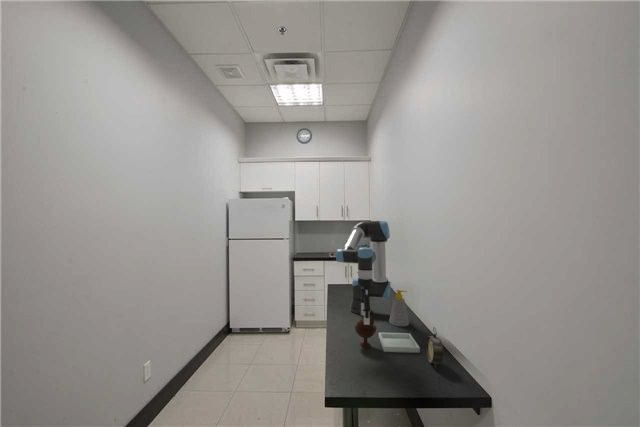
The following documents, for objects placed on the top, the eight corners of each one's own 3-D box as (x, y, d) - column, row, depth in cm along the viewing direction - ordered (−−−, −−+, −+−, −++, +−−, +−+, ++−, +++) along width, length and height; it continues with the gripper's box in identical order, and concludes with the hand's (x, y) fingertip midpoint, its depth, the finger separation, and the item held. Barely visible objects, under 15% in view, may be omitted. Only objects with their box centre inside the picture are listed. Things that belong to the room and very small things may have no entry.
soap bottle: (407, 328, 161) (407, 293, 162) (386, 324, 167) (386, 291, 168) (411, 321, 172) (410, 289, 173) (391, 318, 178) (391, 287, 179)
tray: (378, 337, 148) (378, 332, 148) (409, 337, 147) (409, 333, 147) (384, 351, 131) (384, 346, 131) (419, 352, 130) (419, 347, 130)
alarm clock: (425, 358, 125) (425, 322, 126) (437, 358, 125) (437, 323, 125) (432, 370, 115) (432, 332, 115) (446, 371, 114) (445, 332, 115)
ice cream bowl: (362, 339, 146) (362, 311, 146) (380, 345, 138) (380, 316, 138) (350, 345, 138) (350, 315, 139) (368, 352, 130) (368, 321, 131)
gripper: (355, 273, 152) (355, 311, 151) (360, 282, 127) (360, 328, 126) (369, 273, 152) (369, 312, 151) (376, 283, 127) (376, 329, 126)
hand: (365, 319), depth 138 cm, fingers open, 13 cm apart
